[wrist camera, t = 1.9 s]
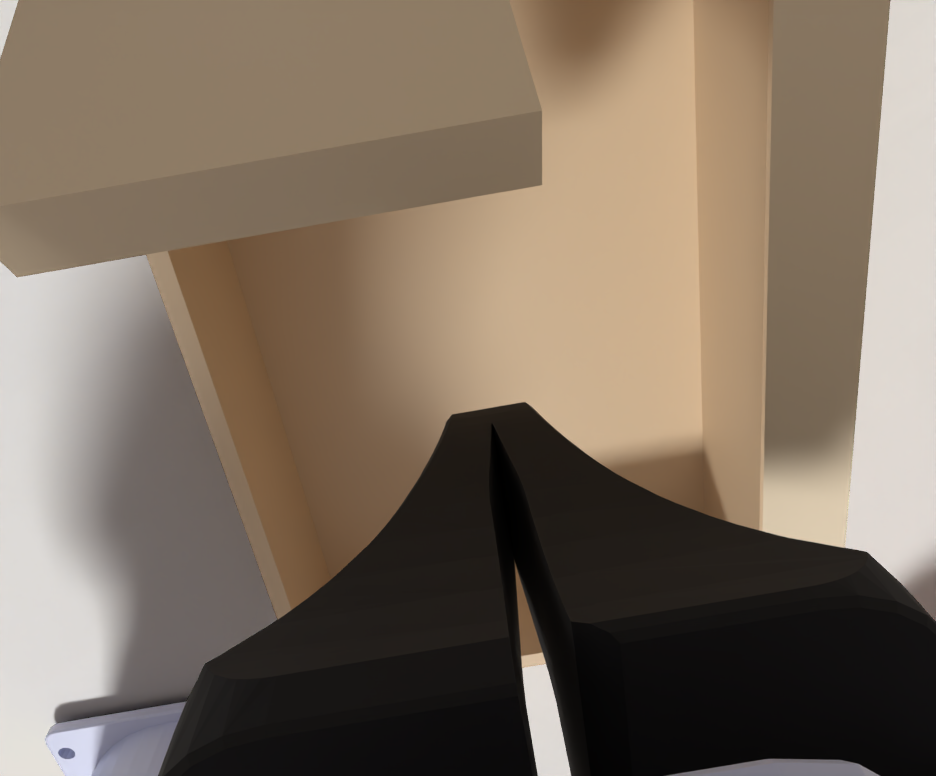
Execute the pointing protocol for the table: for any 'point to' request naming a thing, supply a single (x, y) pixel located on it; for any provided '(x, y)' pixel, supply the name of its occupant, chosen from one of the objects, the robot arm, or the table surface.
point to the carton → (513, 299)
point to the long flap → (818, 255)
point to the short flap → (249, 119)
